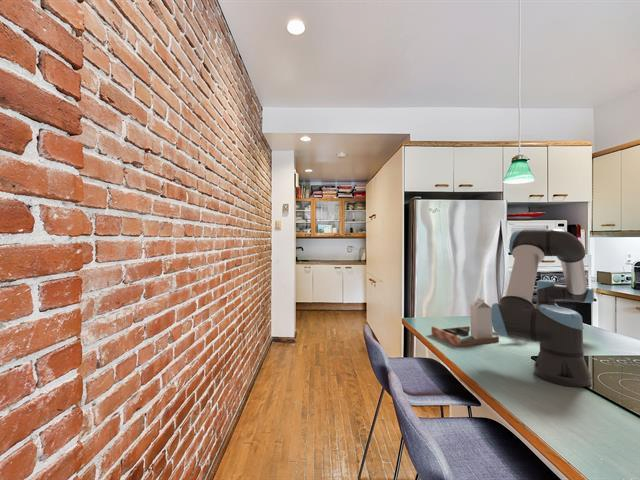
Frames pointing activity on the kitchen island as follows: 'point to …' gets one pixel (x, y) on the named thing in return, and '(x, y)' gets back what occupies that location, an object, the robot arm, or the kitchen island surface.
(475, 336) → the milk carton
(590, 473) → the kitchen island surface
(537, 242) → the robot arm
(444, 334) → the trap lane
